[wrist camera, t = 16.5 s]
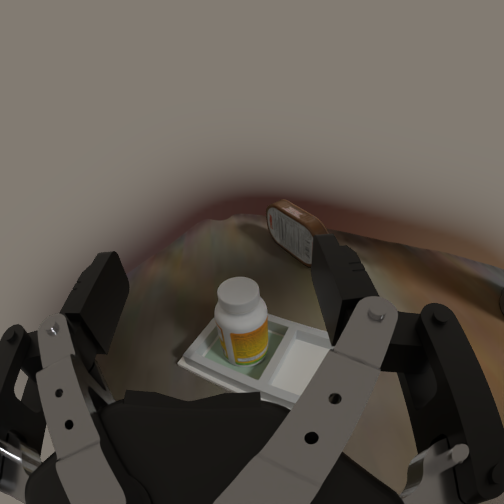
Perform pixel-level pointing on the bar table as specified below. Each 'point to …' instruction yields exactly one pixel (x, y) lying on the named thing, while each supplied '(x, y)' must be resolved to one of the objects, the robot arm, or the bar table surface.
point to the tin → (294, 229)
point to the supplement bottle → (242, 322)
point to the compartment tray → (263, 361)
